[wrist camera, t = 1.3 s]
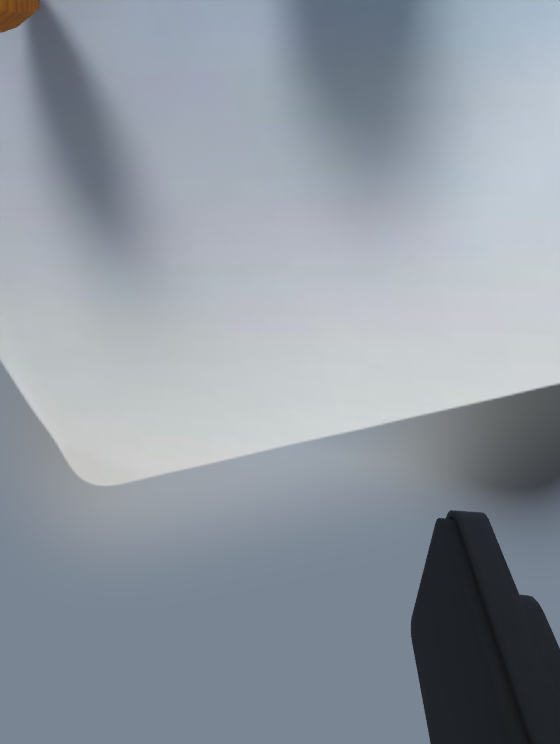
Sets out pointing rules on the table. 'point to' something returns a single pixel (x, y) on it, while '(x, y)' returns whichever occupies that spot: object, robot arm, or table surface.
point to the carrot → (16, 12)
